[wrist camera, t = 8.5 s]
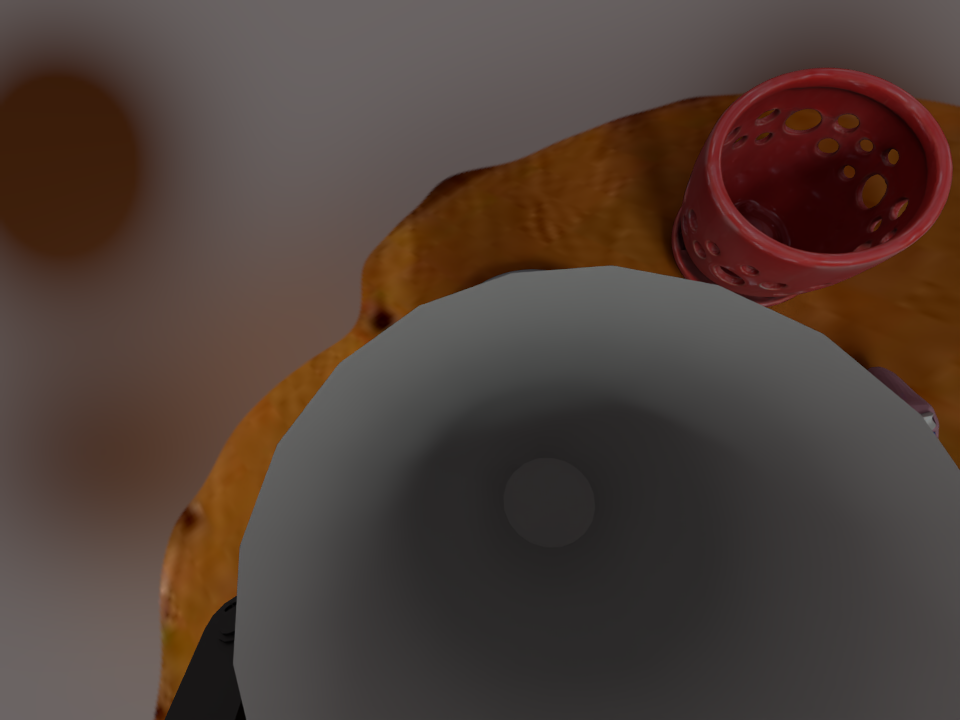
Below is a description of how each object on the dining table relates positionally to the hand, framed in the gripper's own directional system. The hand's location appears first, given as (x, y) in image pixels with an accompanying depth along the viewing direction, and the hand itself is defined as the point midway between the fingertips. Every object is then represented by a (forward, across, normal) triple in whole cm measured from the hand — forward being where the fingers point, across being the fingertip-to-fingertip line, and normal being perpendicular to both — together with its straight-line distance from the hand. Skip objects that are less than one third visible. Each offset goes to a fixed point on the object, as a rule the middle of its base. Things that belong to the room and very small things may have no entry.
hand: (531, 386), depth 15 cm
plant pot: (+24, +19, -6) cm, 31 cm away
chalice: (+3, 0, -8) cm, 9 cm away
